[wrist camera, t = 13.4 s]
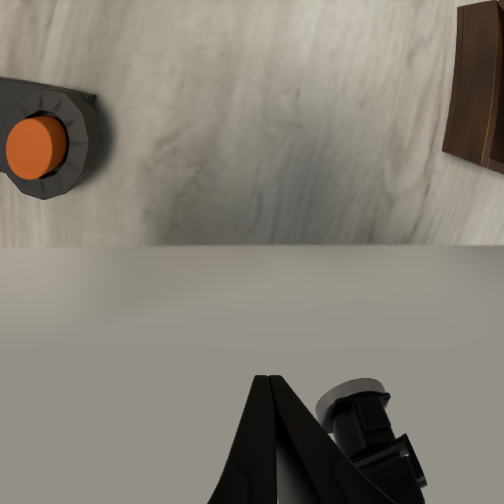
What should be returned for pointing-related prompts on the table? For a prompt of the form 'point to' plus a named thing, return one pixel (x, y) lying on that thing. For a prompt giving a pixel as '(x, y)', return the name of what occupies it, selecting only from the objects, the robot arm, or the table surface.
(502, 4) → the lid
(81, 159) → the block
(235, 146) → the table surface
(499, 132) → the chest
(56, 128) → the button
